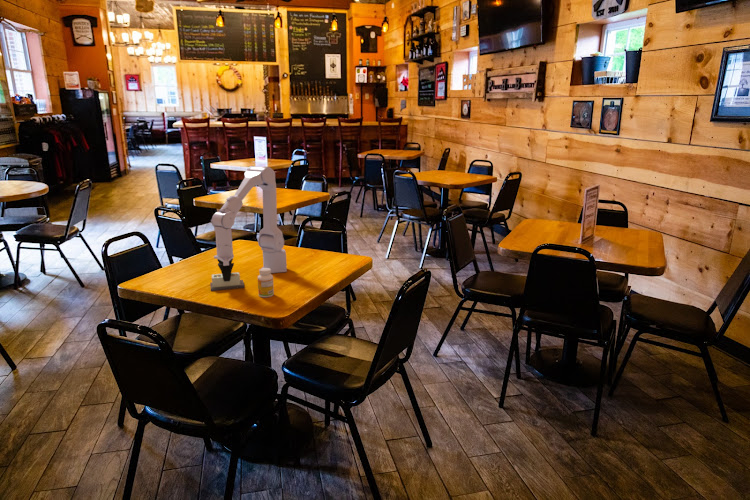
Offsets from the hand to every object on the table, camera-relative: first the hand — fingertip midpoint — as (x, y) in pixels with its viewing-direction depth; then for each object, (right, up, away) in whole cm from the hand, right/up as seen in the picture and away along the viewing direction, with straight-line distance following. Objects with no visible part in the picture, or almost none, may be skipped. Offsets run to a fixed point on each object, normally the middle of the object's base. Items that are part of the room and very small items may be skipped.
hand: (226, 278), depth 190 cm
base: (0, -3, +1) cm, 3 cm away
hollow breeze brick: (0, -2, 0) cm, 2 cm away
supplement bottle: (+17, -6, -8) cm, 19 cm away
